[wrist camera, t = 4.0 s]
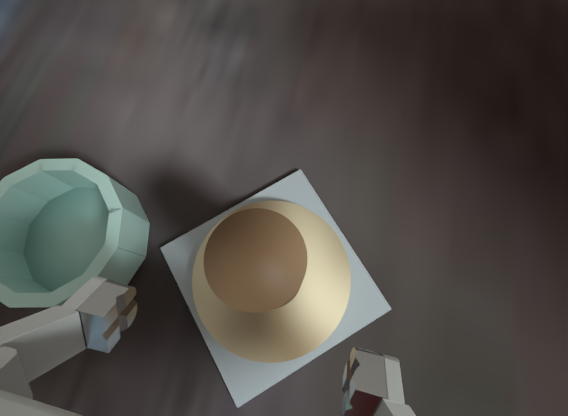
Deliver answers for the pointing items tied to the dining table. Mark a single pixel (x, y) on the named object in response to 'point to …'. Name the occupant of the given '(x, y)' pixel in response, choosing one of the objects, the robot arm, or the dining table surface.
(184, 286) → the mat
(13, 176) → the bowl
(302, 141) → the dining table surface
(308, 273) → the lid
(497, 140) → the dining table surface
